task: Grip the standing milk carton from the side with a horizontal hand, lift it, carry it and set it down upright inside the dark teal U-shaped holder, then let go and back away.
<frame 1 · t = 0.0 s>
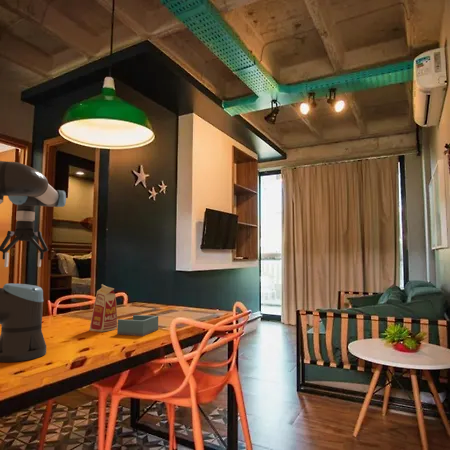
hand: (22, 266, 162), 28 cm above the table, tool pointing down, fingers open, 13 cm apart
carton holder: (137, 331, 153), on the table
milk carton: (104, 329, 158), on the table
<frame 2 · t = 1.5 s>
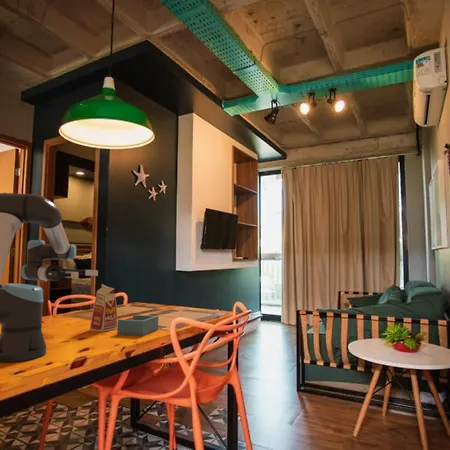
hand: (87, 274, 163), 25 cm above the table, tool horizontal, fingers open, 13 cm apart
nothing on the table moved.
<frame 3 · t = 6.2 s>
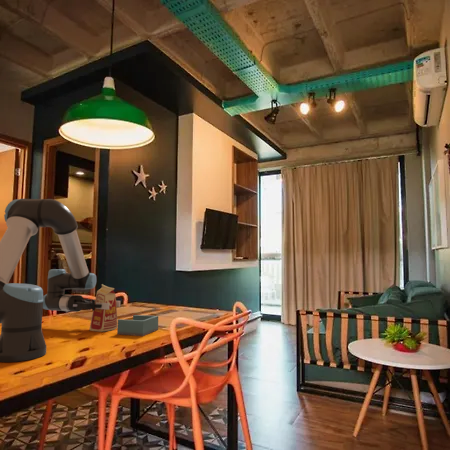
hand: (114, 305, 158), 11 cm above the table, tool horizontal, fingers closed on milk carton, 8 cm apart
milk carton: (104, 329, 158), on the table, touching gripper
when the fingers open (15 cm above the table, at t = 11.1 s): milk carton stays where it is, resting on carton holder.
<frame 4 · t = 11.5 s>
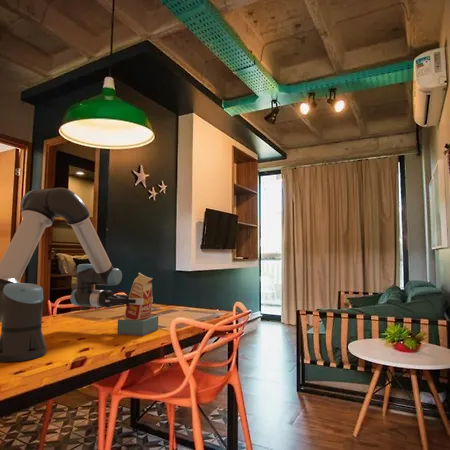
hand: (147, 300, 153), 14 cm above the table, tool horizontal, fingers open, 7 cm apart
milk carton: (138, 319, 154), point 5 cm above the table, touching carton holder, gripper
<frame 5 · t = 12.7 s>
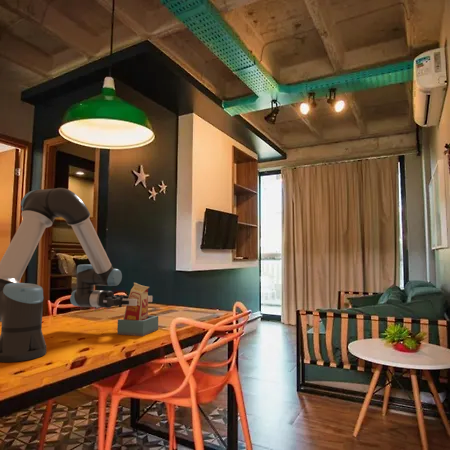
hand: (144, 300, 154), 14 cm above the table, tool horizontal, fingers open, 13 cm apart
milk carton: (136, 329, 153), point 1 cm above the table, touching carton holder
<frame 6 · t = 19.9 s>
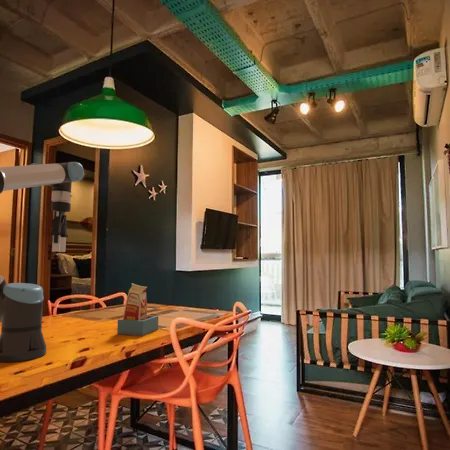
hand: (58, 251, 149), 35 cm above the table, tool pointing down, fingers open, 13 cm apart
at the end: milk carton 0.5 cm off-centre on the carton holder, point 0.8 cm above the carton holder's base; milk carton tilted 0°; the gripper is holding nothing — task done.
